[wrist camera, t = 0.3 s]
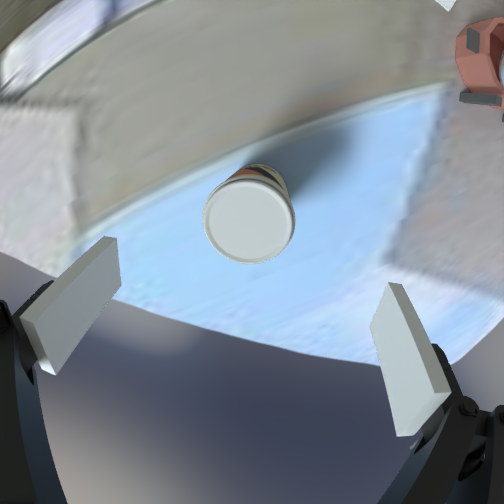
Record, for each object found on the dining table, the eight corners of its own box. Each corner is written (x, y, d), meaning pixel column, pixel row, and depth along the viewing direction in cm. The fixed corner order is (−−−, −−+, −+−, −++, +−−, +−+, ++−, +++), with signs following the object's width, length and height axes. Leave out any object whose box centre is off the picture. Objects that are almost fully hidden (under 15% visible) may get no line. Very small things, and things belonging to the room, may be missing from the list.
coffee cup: (287, 152, 38) (288, 171, 27) (296, 219, 42) (300, 262, 31) (216, 163, 39) (190, 186, 29) (230, 227, 43) (212, 271, 33)
